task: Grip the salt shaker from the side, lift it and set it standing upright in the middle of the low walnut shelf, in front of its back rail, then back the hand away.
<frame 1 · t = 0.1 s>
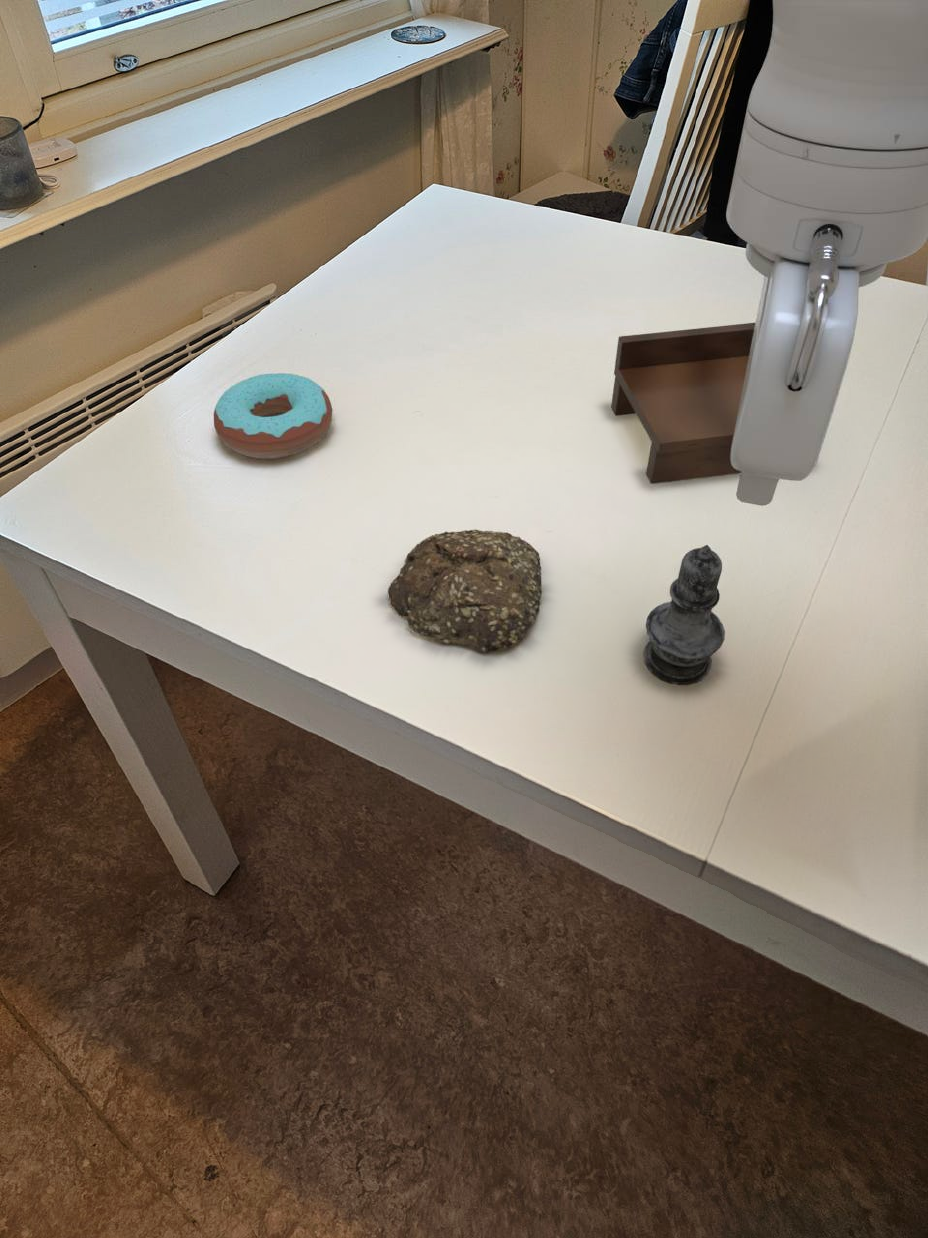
hand: (761, 444, 49), 23 cm above the table, tool pointing down, fingers open, 8 cm apart
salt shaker: (676, 660, 68), on the table
donut: (277, 433, 90), on the table
shelf: (705, 435, 88), on the table
bread roll: (466, 596, 73), on the table
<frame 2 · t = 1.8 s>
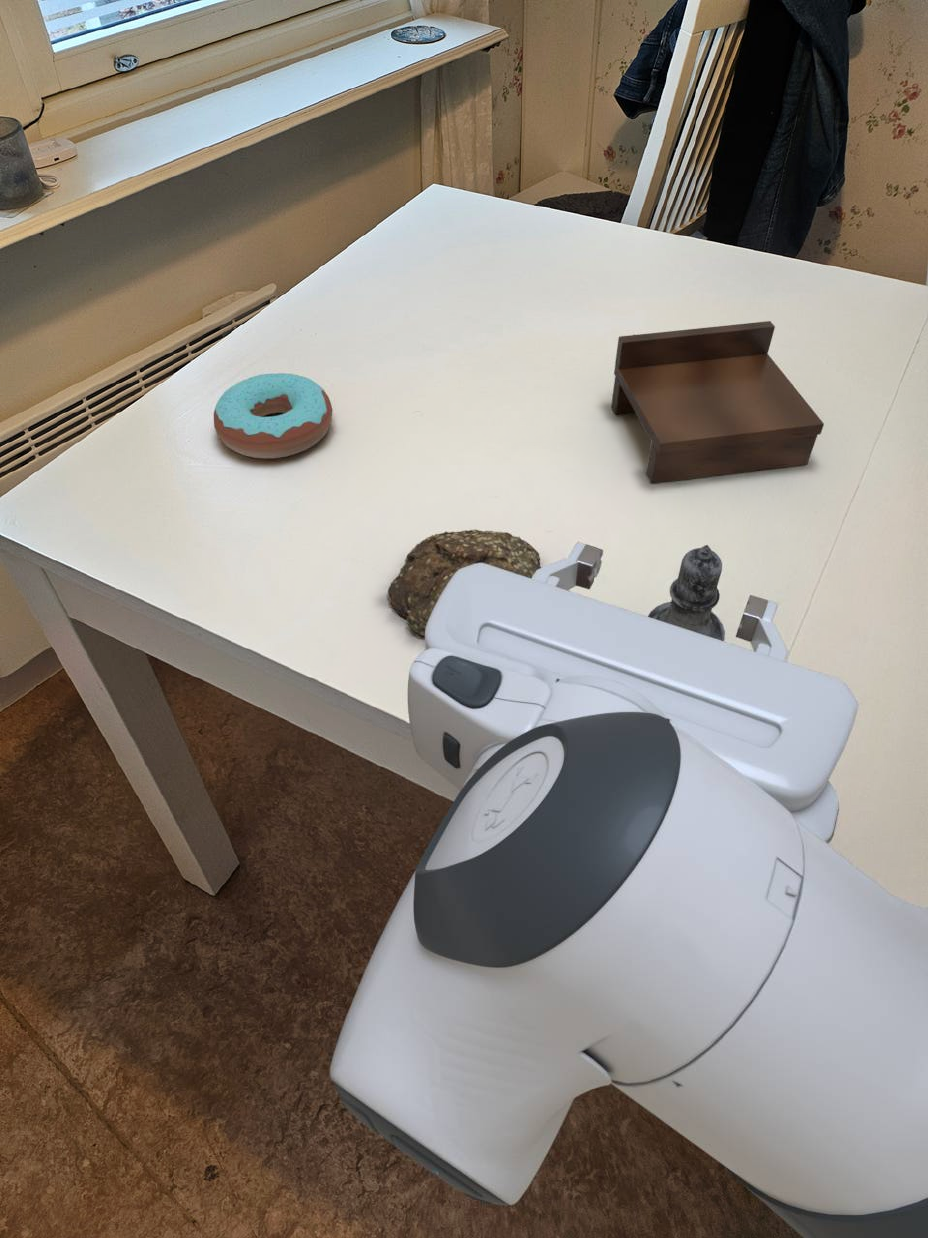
hand: (673, 579, 47), 19 cm above the table, tool horizontal, fingers open, 8 cm apart
nothing on the table moved.
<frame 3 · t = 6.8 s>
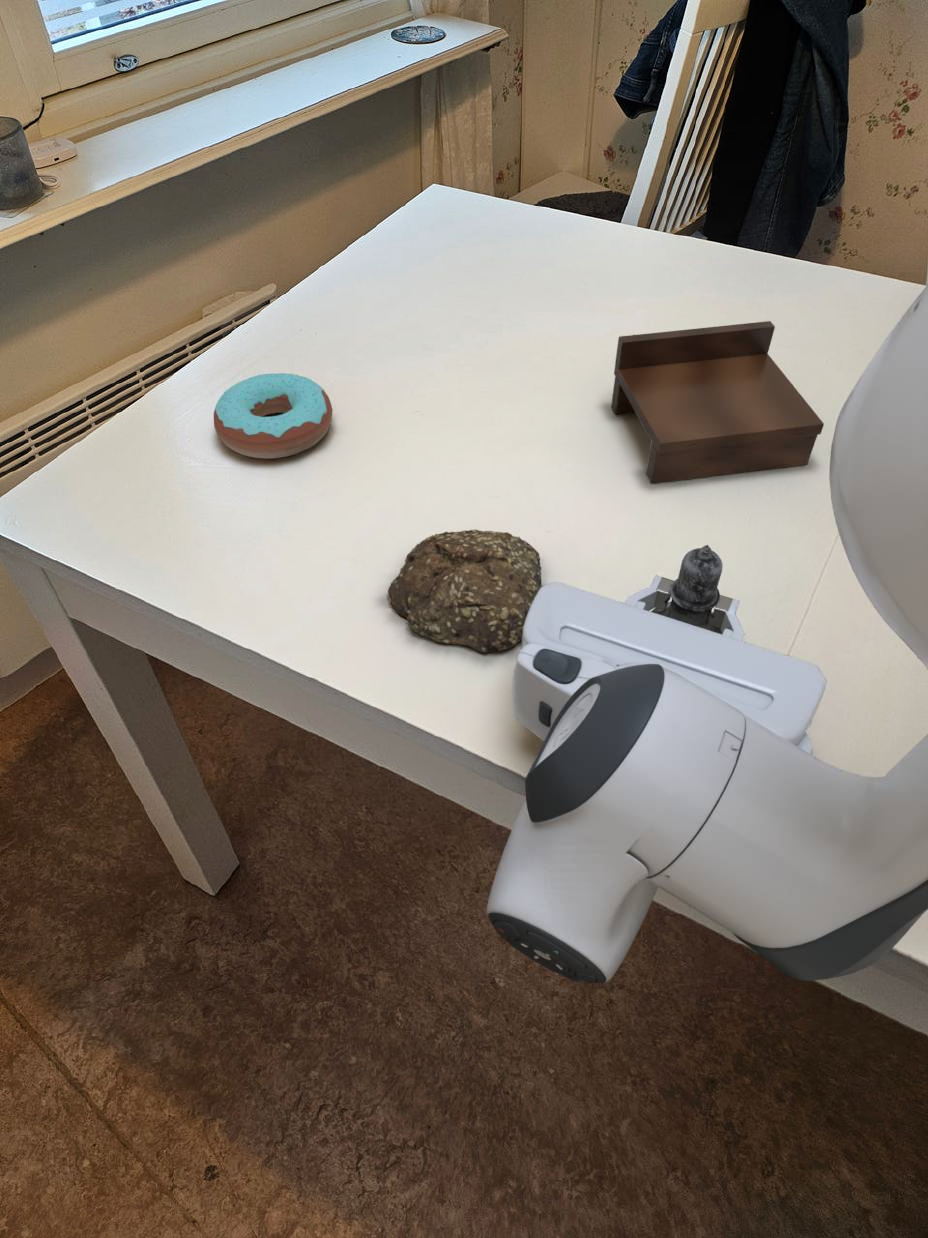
hand: (695, 593, 64), 7 cm above the table, tool horizontal, fingers closed on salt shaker, 3 cm apart
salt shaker: (676, 660, 68), on the table, touching gripper
everything else where it was.
when the fingers open (12 cm above the table, at t = 14.7 s): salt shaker stays where it is, resting on shelf.
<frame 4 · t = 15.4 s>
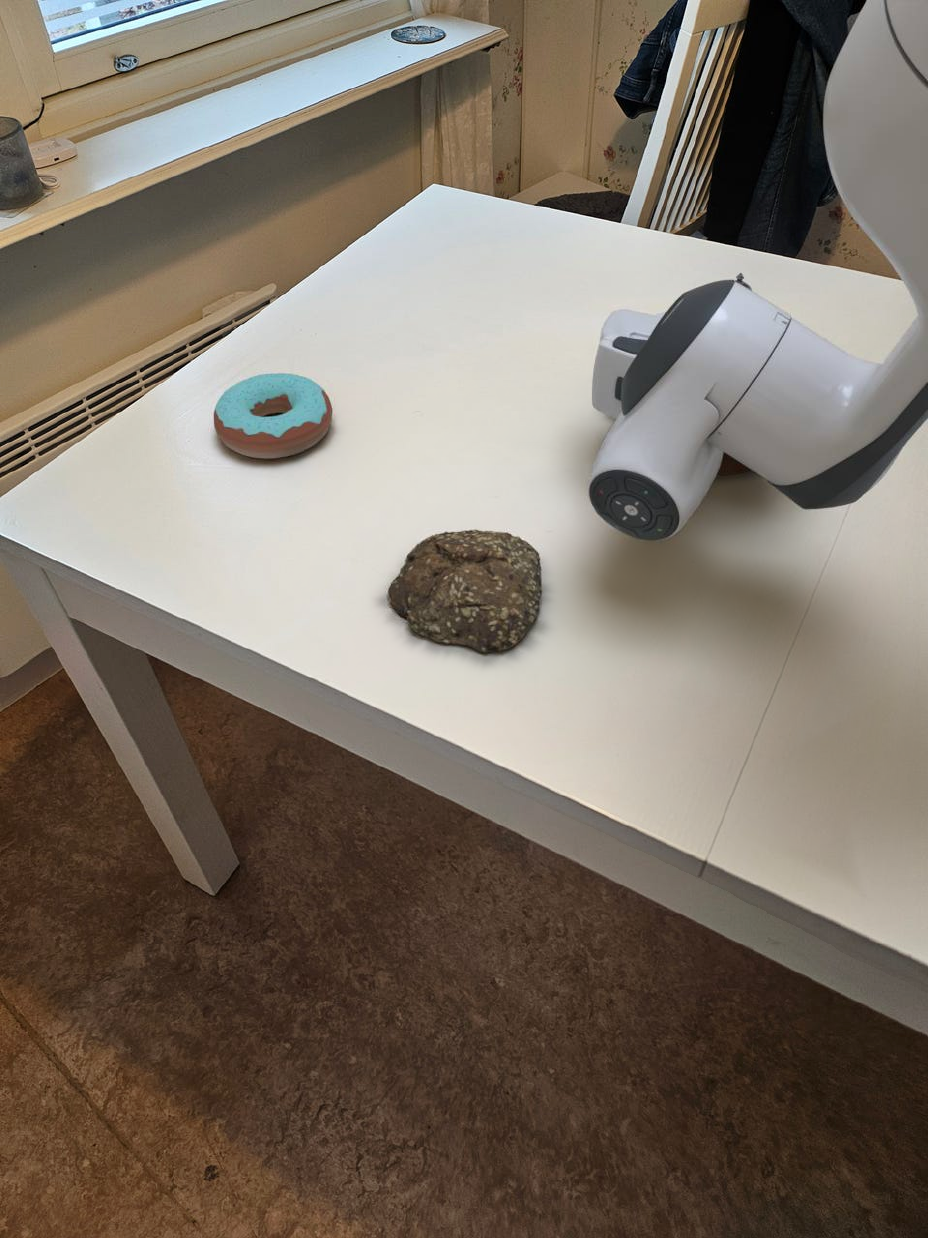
hand: (733, 322, 80), 12 cm above the table, tool horizontal, fingers open, 8 cm apart
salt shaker: (713, 394, 85), point 5 cm above the table, touching shelf
everything else where it was.
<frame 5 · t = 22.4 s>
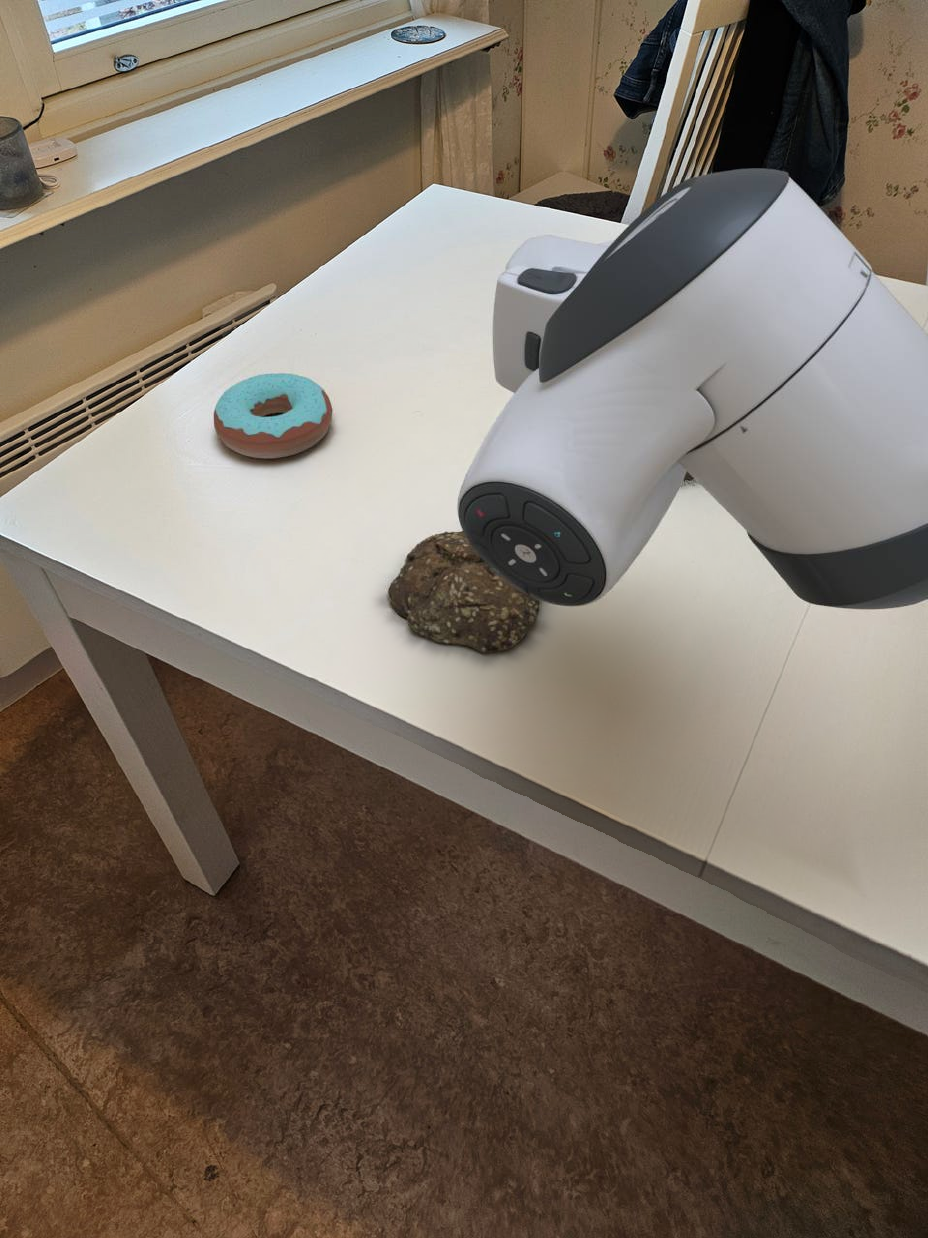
hand: (713, 257, 54), 28 cm above the table, tool horizontal, fingers open, 8 cm apart
nothing on the table moved.
at the end: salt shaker inside the target area on the shelf (0.2 cm from its centre), point 4.8 cm above the shelf's base; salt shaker tilted 0°; the gripper is holding nothing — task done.
